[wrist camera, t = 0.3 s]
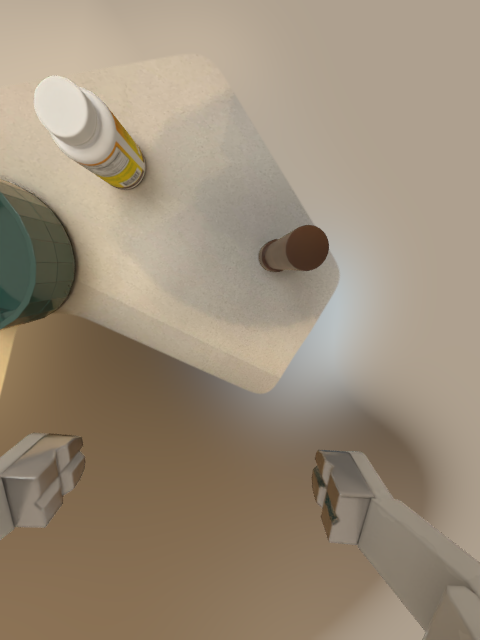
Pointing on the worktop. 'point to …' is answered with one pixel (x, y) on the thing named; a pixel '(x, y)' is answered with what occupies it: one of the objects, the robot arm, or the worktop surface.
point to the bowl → (31, 258)
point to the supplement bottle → (88, 132)
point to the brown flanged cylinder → (295, 250)
